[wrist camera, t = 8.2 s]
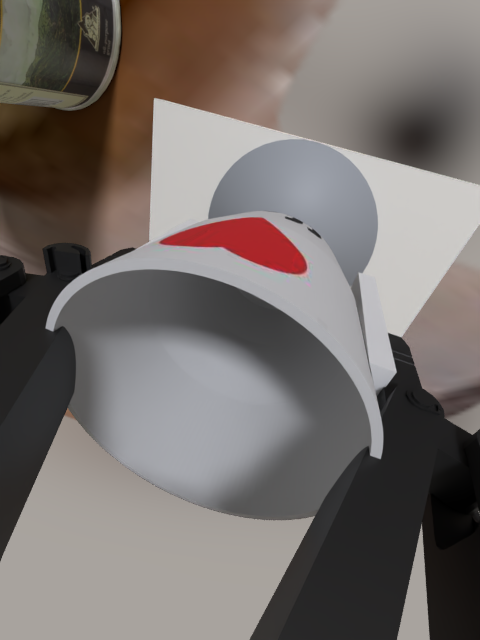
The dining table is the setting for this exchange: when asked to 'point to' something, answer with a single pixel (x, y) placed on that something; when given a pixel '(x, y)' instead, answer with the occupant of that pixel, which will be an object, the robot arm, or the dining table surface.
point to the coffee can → (57, 51)
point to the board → (315, 199)
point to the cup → (225, 365)
